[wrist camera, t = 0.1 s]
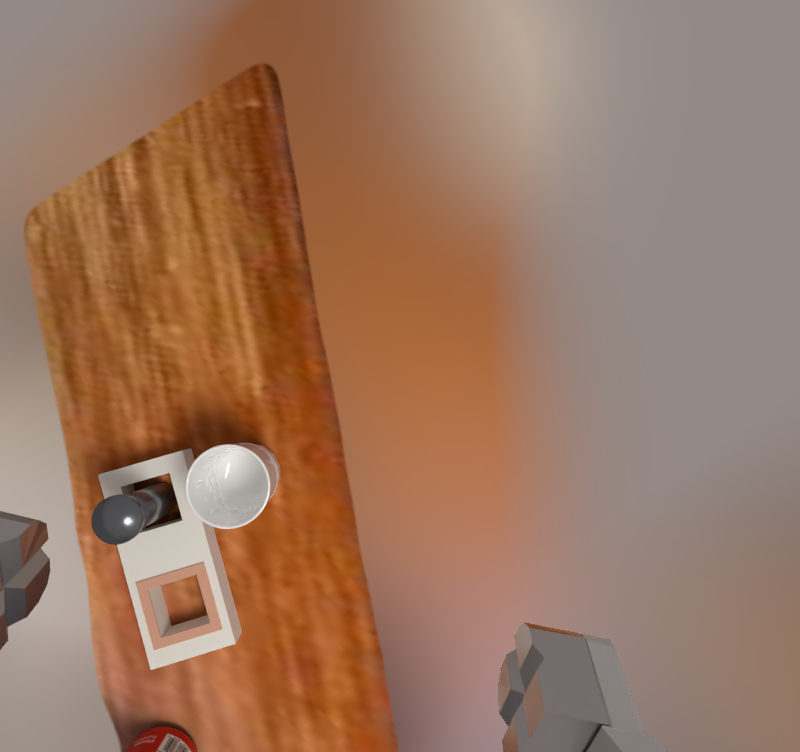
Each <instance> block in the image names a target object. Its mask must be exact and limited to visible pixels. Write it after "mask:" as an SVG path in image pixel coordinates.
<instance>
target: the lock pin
mask: <svg viewBox="0 0 800 752" xmlns="http://www.w3.org/2000/svg"><path fill="white" fill-rule="evenodd" d="M177 505H178V502H177V499H176V495H175V491H174V488H173V486H172V485H171V484H169V483H164V482H162V483H157V484H154V485H152V486H149V487H146V488H144V489H141V490H138V491H136V492H133V493H131V494H128V495H125V494H117V495H113V496H110V497H108V498H106V499H104V500H102V501H101V502H100V503H99V504H98V505H97V506H96V508H95V510H94V512H93V515H92V527H93V530H94V532H95V534H96V535H97V536H98V538H100V539H101V540H102V541H104V542H106V543H108V544H113V545H118V544H123V543H126V542H128V541H130V540H131V539H133V538H135V537H136V536H137V535H138V534H139V533H140V531H141V530H142V528H144V527H146V526H148V525H150V524H151V523H153V522H155V521H157V520H159V519H160V518H162V517H164V516H166V515H168V514H169V513H171V512H173V511H174V510H175V508H176V507H177Z"/></svg>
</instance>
